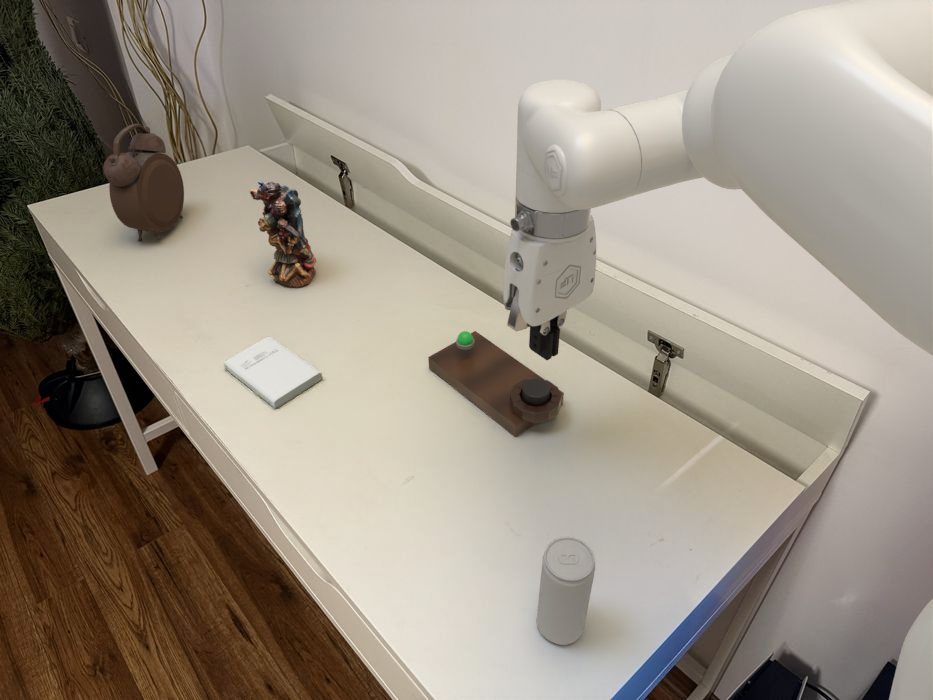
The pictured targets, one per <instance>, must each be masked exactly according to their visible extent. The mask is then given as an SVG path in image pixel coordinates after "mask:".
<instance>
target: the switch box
mask: <svg viewBox="0 0 933 700" xmlns="http://www.w3.org/2000/svg"><path fill="white" fill-rule="evenodd" d="M470 333H471V334H472V336H473V338H474V341H475V344H474V346H473V347H472V348H471V349H467V350H463V349H460V348H458V347H457V345H456V341H454V342H452V343H450V344H449V345H447V346H445V347H444V348H441V349H440V350H438V351H437V352H435V353H433V354H431V355H429V356H428V357H427V358H428V369H429V370H430V371H431V372H432V373H434V374H436V376H438V378H441V380H442V381H444V382H445V383H446V384H447V385H449V386H450V387H452V389H454V390H455V391H457V392H458V393H459V394H461V396H463V397H464V398H465V399H467V400H468V401H469V402H471V403H472V404H473V405H474V406H476V407H477V408H478V409H479V410H480V411H482V412H483V413H484V414H485V415H486V416H488V417H489V418H490V419H492V421H494V422H495V423H497V424H498V425H499V426H500V427H502V428H503V429H505V431H507V432H508V433H510V434H511V435H512V436H513V437H514V438H515V437H516V438H517V437H518V436H519V435H521V434H522V433H523V432H525V431H527V430H528V429H529V428H531V427H532V426H534V425H535V424H539V423H545V422H549V421H550V420H552V419H553V418H555V417H557V416H558V415H559V412H560V409H561V406H563V403H564V395H565V393H564V391H561V390H560V389H559V387H558V386H557V385H555V384H554V383H553V382H551V381H549V380H548V379H545V378H543V377H542V376H541V375H539V374H538V373H536V372H535V371H533V370H532V369H530V368H529V367H528V366H526V365H525V364H523V363H522V362H521V361H519V360H517V359H516V357H513V356H512V355H510V354H509V353H507V351H504V350H503V349H502V348H500V347H499V346H498V345H497V344H495V343H493V341H490V340H489V339H488V338H486V337H485V336H483V335H482V334H481V333H479V332H478V331H476V330H474V331H472V332H470ZM533 378H538V379H542V380H544V381H546V382H547V383H548V384H549V386H550V397H549V401H548V402H547V403H546V404H545V405H543V406H538V407H534V406H530V405H528V404H526V403H525V402H524V401H523V399H522V386H523V384H524V382H525V381H527V380H529V379H533Z"/></svg>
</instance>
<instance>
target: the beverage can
mask: <svg viewBox="0 0 933 700" xmlns="http://www.w3.org/2000/svg"><path fill="white" fill-rule="evenodd" d="M595 559H596V558H595V556H594V552H593V550H592V549H591V547H590V546H589V545H588V544H587V543H586V542H584V541H583V540H581V539H579V538H576V537H572V536H562V537H561V536H560V537H558V538H556V539H555V538H554V540H552V541H551V542H549V544H548V545H547V546H546V548H545V550H544V552H543V555H542V561H541V569H540V570H541V571H540V582H539V588H538V589H539V590H538V591H539V592H538V600H537V609H536V610H537V611H536V626H537V630H538V631H539V633H540V634H541V635H542V636H543V637H544V638H545V639H547V640H548V642H551V643H553V644H556V645H560V646H565V645H570V644H573V643H575V642H576V641H578V640H579V639H580V638H581V636H582V635H583V633H584V629H585V627H586V620H587V615H588V610H589V609H588V608H589V604H590V599H591V593H592V588H593V582H594V577H595V572H596V561H595Z"/></svg>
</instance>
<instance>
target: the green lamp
mask: <svg viewBox="0 0 933 700" xmlns="http://www.w3.org/2000/svg"><path fill="white" fill-rule="evenodd" d="M471 333H472V332H470V331H467V330H465V331H464V330H463V331H461V332H459V334H458V335H457V338H456V339H455V342H456V345H457V347H458V348H460V349H463V350H467V349H471V348H472V347H473V346H474V344H475V341H474V338H473V336H472V334H471Z"/></svg>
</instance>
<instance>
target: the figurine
mask: <svg viewBox="0 0 933 700" xmlns="http://www.w3.org/2000/svg"><path fill="white" fill-rule="evenodd" d="M257 184H258V185H259V186H258V189H256V188H253V189H252V188H251V189H250V190H249V193H250V196H251V197H252V200H254V201H262V204H263V205H264V206H263V211H262V217H260V218H259V219H258V221H257V225H258V227H259V231H260V232H263V233H265V232H266V233H267V235H268V240H267V242H268V244H269V246H271V247H275V251H274V253H273V260H274V262H273V263H272V266H271V267H270V268H269V270H268V271H267V274H268V275H269V276H273V279H272V280H273V282H275V283H276V284H278V285H280V286H284V287H286V288H300V287H303V286H305V285H308V284H310V282H312V280H313V278H314V276H315V274H316V268H315V264H317V259H316V257H315V254H314V253H313V251H312V248H311V245H310V243H309V240H308V239H307V238H306V235H305V231H304V220H303V219H304V218H303V216H302V215H303V214H302V209H301V208H300V207H301V204H302V201H301V199H300V197H299V192H298V190H297V189H295V188H292V189H290V187H289V186H287V185H285V184H282V183H280V182H275V181H266V182H265V180H258V181H257Z"/></svg>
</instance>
